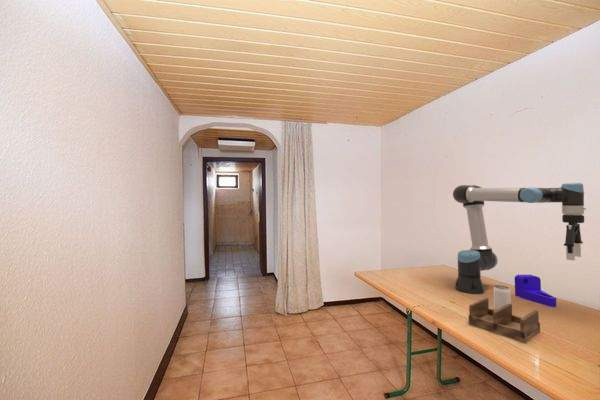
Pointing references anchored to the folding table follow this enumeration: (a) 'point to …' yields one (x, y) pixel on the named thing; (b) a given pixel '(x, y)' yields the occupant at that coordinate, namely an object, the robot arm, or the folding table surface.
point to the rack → (504, 321)
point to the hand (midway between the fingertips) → (573, 258)
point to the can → (501, 296)
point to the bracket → (532, 290)
